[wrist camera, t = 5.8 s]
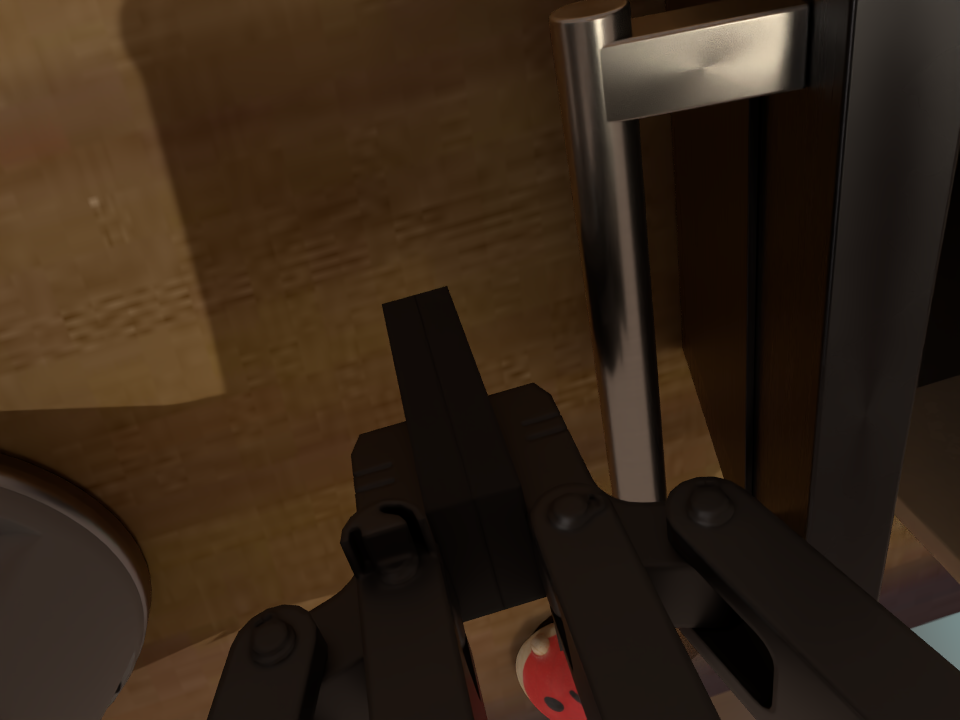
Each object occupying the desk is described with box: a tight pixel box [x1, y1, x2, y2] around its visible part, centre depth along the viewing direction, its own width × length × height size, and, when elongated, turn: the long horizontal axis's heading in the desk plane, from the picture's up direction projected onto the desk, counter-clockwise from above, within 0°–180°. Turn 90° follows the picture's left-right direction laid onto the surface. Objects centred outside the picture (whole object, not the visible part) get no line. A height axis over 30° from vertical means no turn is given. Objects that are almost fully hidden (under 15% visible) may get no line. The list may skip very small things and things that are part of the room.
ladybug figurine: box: [516, 623, 587, 720], centre depth 38 cm, size 7×10×4 cm
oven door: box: [549, 0, 960, 602], centre depth 19 cm, size 5×18×15 cm, turn 11°
